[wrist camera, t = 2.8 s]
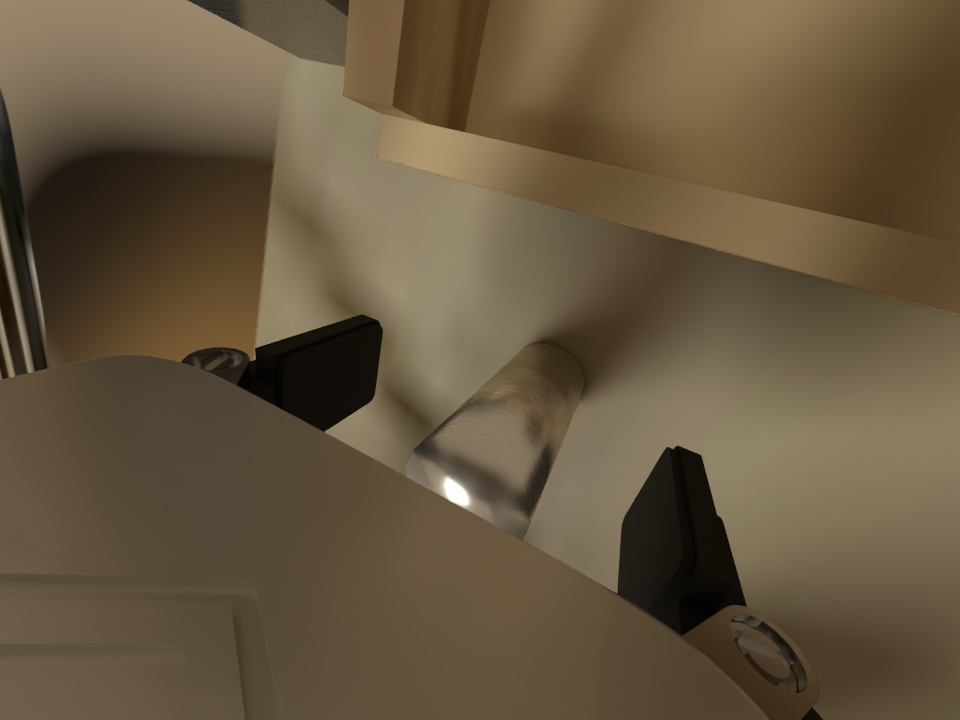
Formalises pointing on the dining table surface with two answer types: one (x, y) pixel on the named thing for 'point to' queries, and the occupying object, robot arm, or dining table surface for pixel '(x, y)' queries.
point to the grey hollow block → (291, 24)
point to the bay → (693, 121)
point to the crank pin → (504, 438)
